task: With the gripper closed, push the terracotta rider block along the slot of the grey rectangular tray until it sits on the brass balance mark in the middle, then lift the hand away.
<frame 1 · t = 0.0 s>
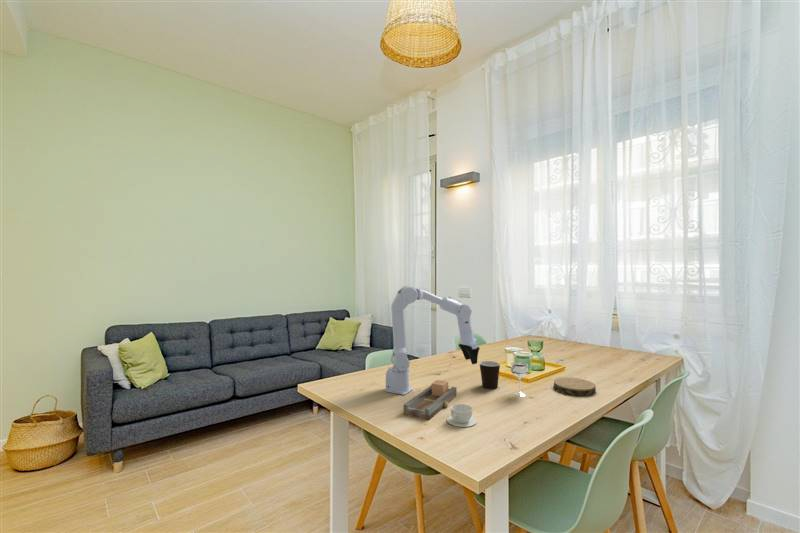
hand: (471, 361, 162), 11 cm above the table, tool pointing down, fingers open, 7 cm apart
teacup: (461, 422, 125), on the table
rider: (439, 388, 147), point 4 cm above the table, slide at 8.0 cm
wineglass: (519, 394, 150), on the table
coffee mug: (491, 386, 161), on the table
wood slice: (574, 390, 155), on the table
grey rectangular tray: (431, 404, 140), on the table
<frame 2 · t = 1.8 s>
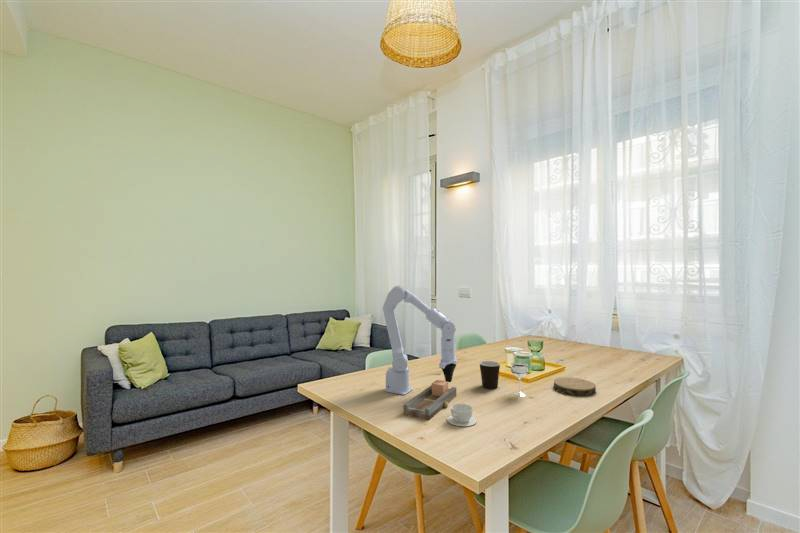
hand: (448, 381, 155), 4 cm above the table, tool pointing down, fingers closed
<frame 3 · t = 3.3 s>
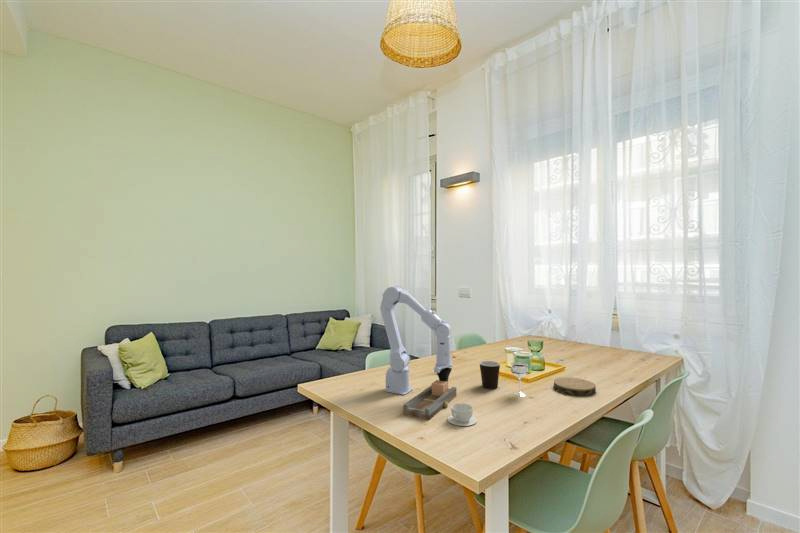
hand: (443, 386, 150), 4 cm above the table, tool pointing down, fingers closed
rider: (439, 388, 147), point 4 cm above the table, slide at 8.0 cm, touching gripper
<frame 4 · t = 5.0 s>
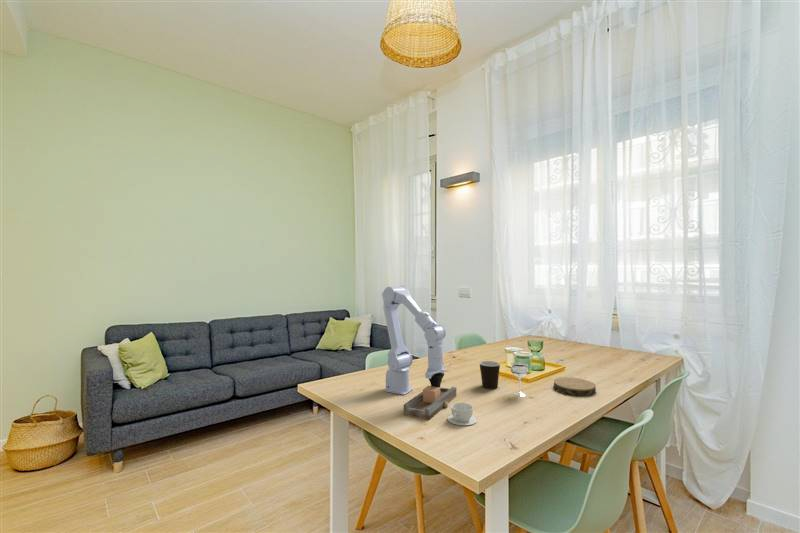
hand: (435, 392, 143), 4 cm above the table, tool pointing down, fingers closed
rider: (431, 394, 140), point 4 cm above the table, slide at 0.0 cm, touching gripper
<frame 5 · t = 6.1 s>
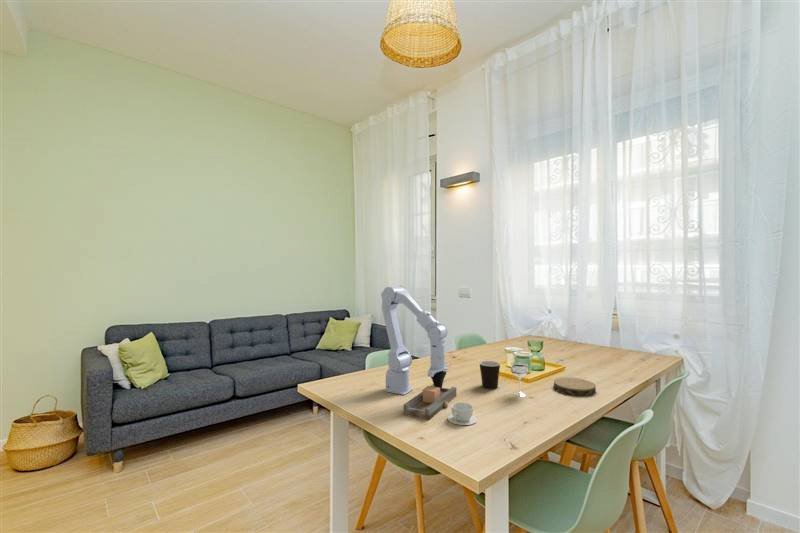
hand: (438, 390, 145), 4 cm above the table, tool pointing down, fingers closed
rider: (431, 394, 140), point 4 cm above the table, slide at -0.2 cm
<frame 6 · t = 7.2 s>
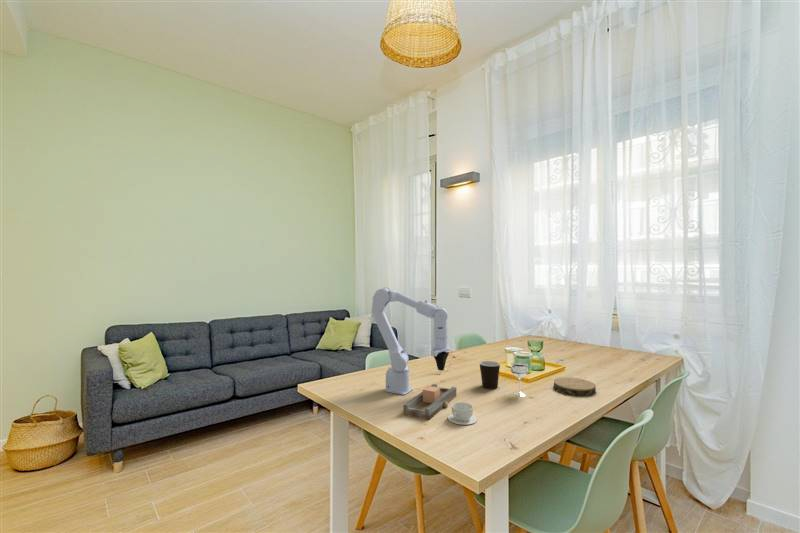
hand: (440, 370, 153), 9 cm above the table, tool pointing down, fingers closed
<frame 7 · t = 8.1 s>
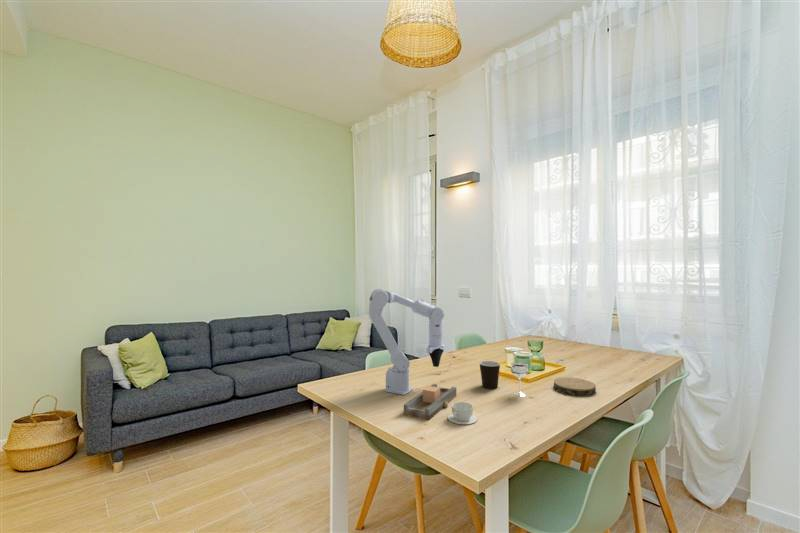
hand: (436, 366, 159), 9 cm above the table, tool pointing down, fingers closed
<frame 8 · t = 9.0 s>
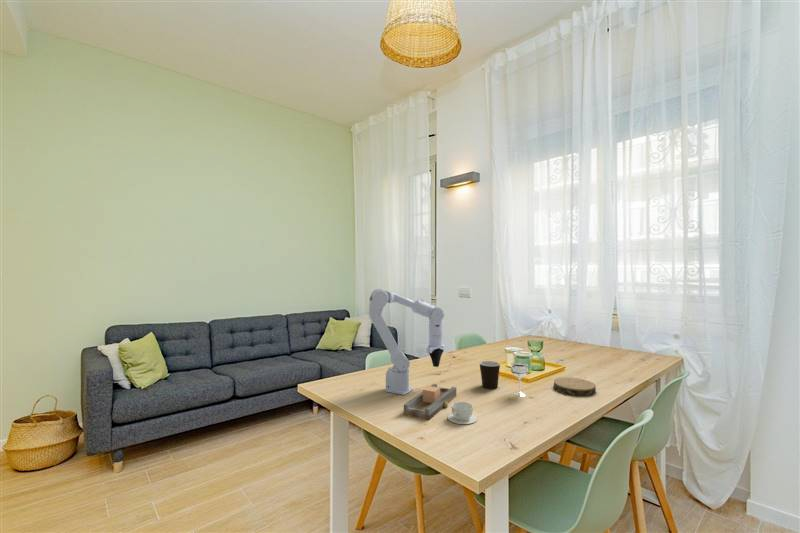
hand: (436, 366, 159), 9 cm above the table, tool pointing down, fingers closed
at the end: rider slide at -0.2 cm; the gripper is holding nothing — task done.
